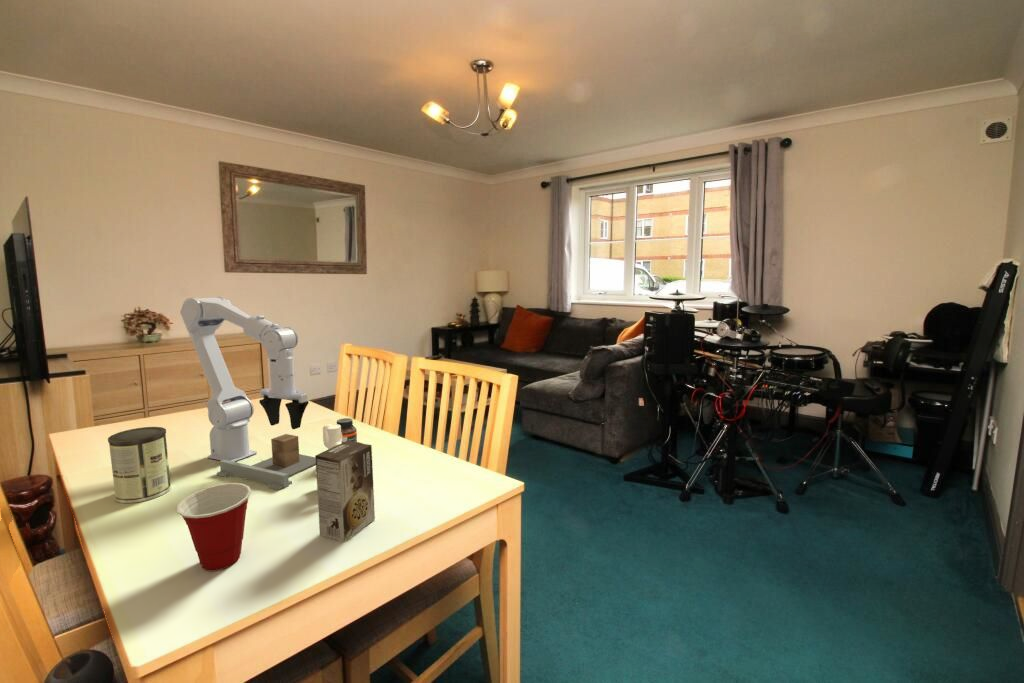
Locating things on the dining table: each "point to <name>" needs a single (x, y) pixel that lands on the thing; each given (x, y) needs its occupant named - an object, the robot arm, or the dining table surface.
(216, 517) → the plastic cup
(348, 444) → the coffee box
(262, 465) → the mat
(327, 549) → the dining table surface
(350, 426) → the supplement bottle
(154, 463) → the coffee can
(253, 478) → the low wall
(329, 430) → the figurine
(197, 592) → the dining table surface
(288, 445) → the walnut block
